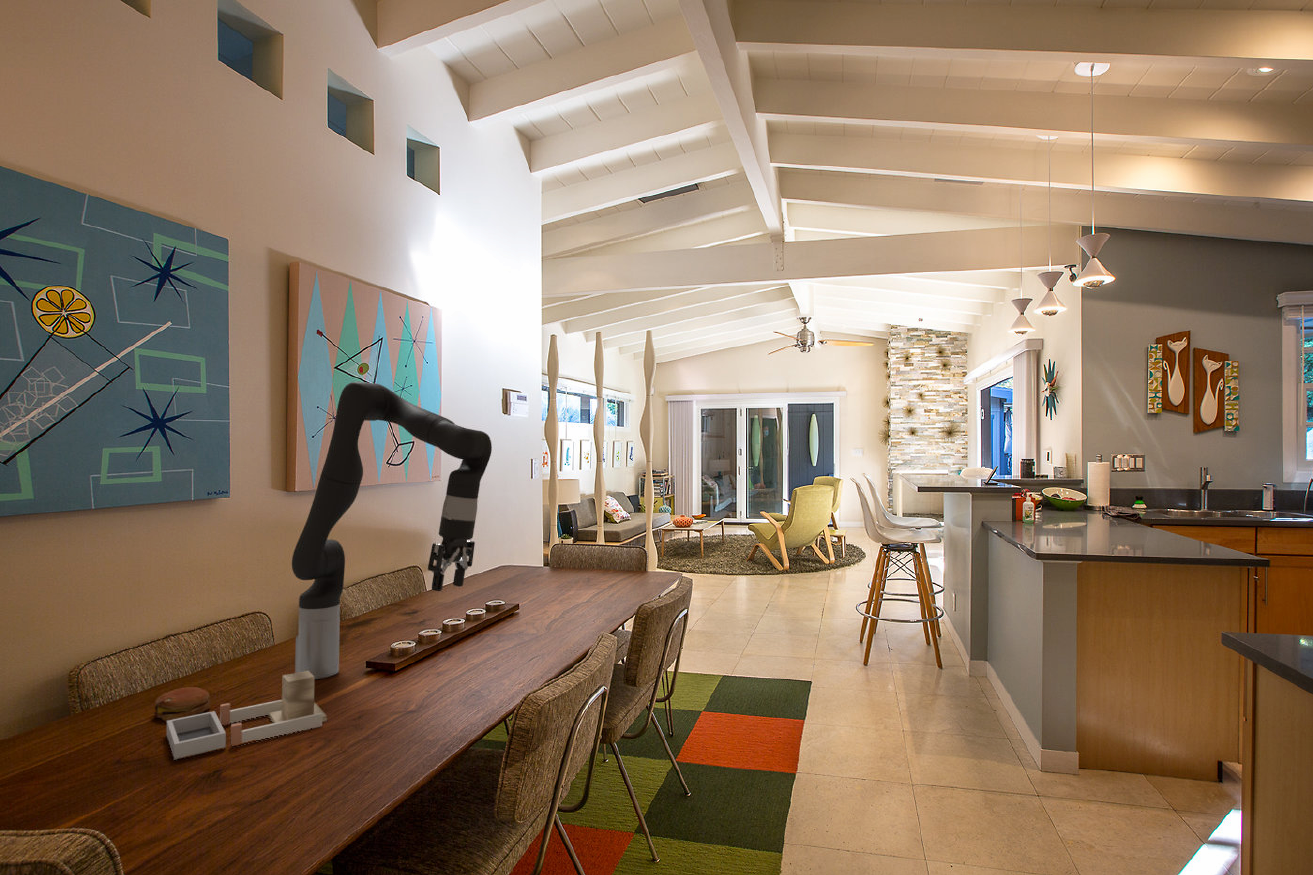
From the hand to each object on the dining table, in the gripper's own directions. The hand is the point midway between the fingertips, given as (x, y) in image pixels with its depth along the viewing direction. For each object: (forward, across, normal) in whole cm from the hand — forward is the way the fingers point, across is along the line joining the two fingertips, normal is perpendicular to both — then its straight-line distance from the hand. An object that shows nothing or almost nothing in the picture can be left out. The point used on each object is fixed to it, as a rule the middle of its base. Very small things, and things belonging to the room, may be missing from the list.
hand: (447, 588), depth 156 cm
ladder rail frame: (+30, +20, -23) cm, 43 cm away
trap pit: (+32, +30, -31) cm, 54 cm away
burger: (+33, +20, -46) cm, 60 cm away
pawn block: (+30, +15, -21) cm, 39 cm away
